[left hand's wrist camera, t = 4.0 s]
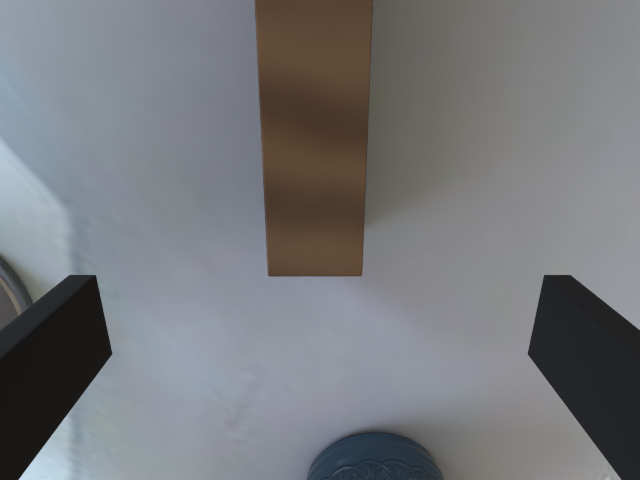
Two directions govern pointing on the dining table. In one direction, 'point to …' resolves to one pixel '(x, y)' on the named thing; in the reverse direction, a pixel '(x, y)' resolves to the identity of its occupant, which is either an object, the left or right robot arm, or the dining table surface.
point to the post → (314, 132)
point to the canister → (375, 460)
